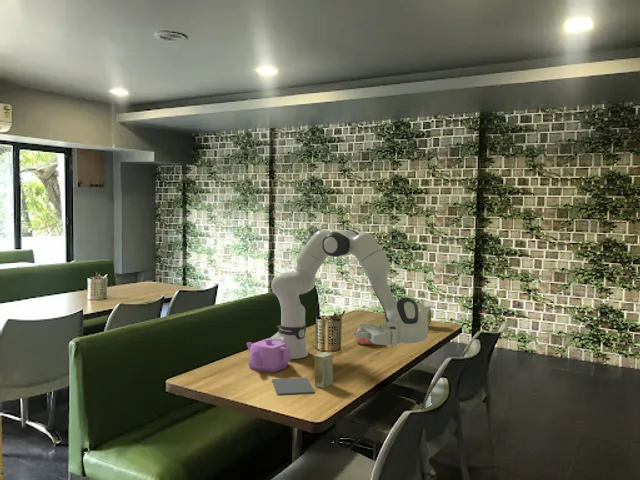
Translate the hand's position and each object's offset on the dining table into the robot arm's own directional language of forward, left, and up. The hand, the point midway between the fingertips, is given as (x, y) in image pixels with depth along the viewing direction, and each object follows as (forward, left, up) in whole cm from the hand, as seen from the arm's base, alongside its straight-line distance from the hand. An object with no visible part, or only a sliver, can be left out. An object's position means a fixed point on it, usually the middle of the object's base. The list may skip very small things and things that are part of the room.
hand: (355, 334), depth 203 cm
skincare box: (-7, -10, -20) cm, 23 cm away
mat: (-14, -20, -20) cm, 31 cm away
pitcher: (-35, +105, -20) cm, 113 cm away
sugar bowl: (-34, +52, -20) cm, 65 cm away
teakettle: (-39, -11, -20) cm, 45 cm away
